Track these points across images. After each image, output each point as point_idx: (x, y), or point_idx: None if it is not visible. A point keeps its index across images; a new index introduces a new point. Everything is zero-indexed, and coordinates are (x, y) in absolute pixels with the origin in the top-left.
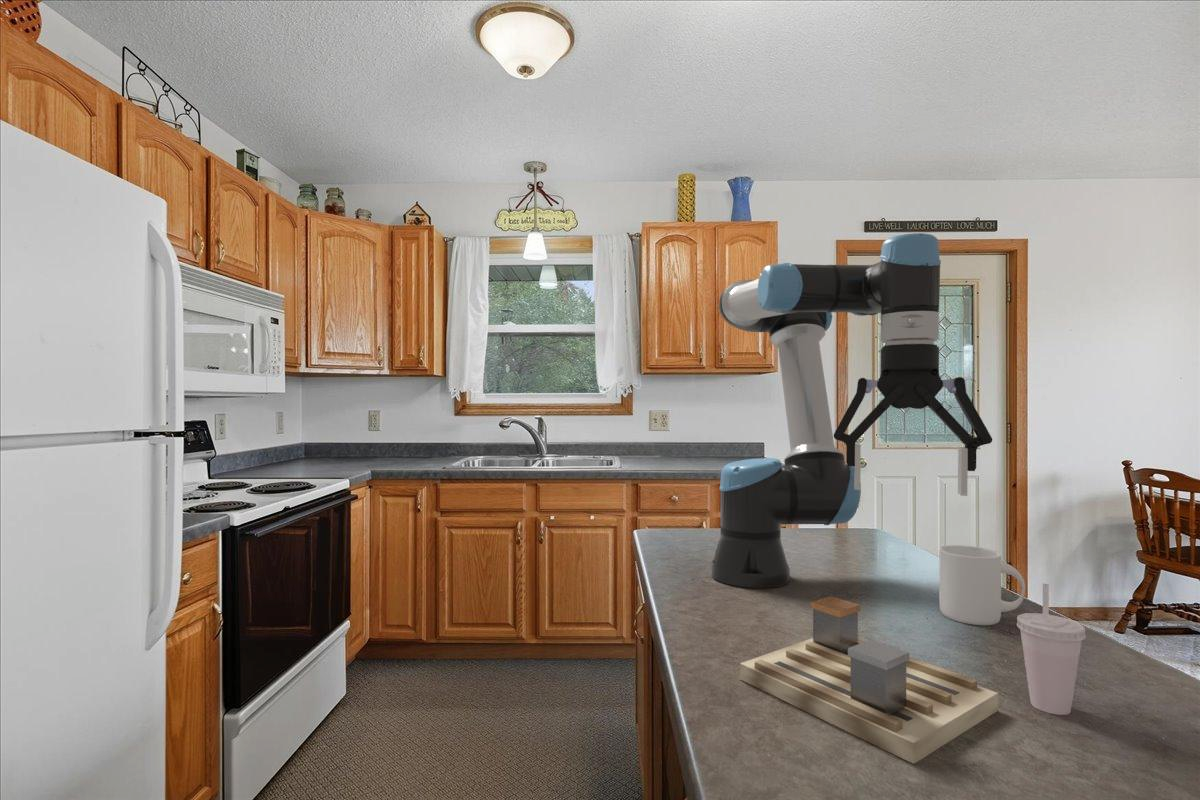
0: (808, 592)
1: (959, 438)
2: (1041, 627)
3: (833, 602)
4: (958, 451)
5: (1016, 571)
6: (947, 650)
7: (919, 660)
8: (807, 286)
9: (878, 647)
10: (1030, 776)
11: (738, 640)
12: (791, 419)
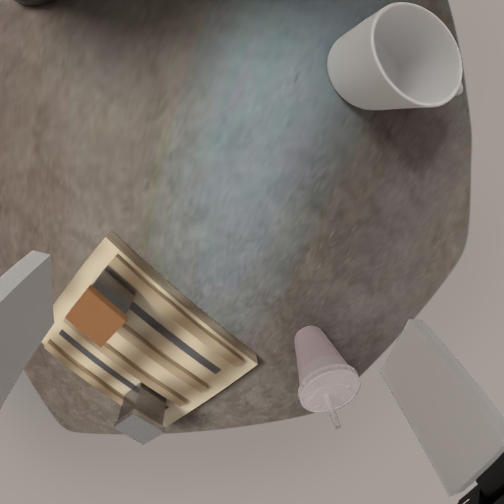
0: None
1: (497, 500)
2: (311, 405)
3: (91, 316)
4: (488, 436)
5: (460, 92)
6: (272, 211)
7: (199, 328)
8: None
9: (138, 426)
10: (233, 419)
11: (19, 230)
12: None
